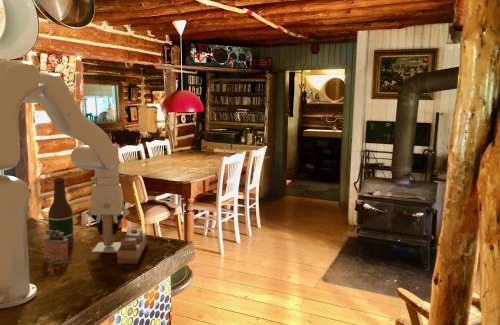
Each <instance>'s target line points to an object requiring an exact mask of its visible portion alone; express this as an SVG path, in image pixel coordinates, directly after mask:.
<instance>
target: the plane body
mask: <svg viewBox="0 0 500 325" xmlns="http://www.w3.org/2000/svg"><path fill="white" fill-rule="evenodd" d="M120 242H121V246H120V248H119V249H118V251H117V253H116V254H117V256H116V258H117V259H116V260H117V262H116V263H117V264H138V262H139V260H140V258H141V256H142V254H143V252H144V250H145V248H146V246H147V233H146V232H143V228H129V229H128V231H127V232H126V234H125V236H124V237H122V238H121V239H120Z"/></svg>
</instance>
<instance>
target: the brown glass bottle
mask: <svg viewBox="0 0 500 325" xmlns="http://www.w3.org/2000/svg"><path fill="white" fill-rule="evenodd" d="M65 181H66V179H65V178H64V177H55V178H53V180H52V182H53V183H54V184H53V201H52V203H51V205H50V207H49V210H48V213H47V214H48V220H47V222H48V230H54V231H56V230H59V231H60V232H64V237H63V238H67V239H68V242H67V243H68V250H69V249H72V248H73V247H74V219H73V218H74V215H73V208H72V206H71V204H70V203H69V202H68V200H67V195H66V187H65V186H66V185H65ZM48 236H50V235H48Z"/></svg>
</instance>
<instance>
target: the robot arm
mask: <svg viewBox="0 0 500 325" xmlns="http://www.w3.org/2000/svg"><path fill="white" fill-rule="evenodd" d="M23 103H26V104H39V105H40V106H41V107H42V108H43V110H44V112H45V113H46V115H47V117H48V118H49V120H50V122H51V123H52V125H53V126H54V128H55V129H56V130H57V131H58V132H60V133H62V134H63V135H65V136H68V137H71V138H73V139H75V140H77V141H79V142H81V143H83V144H82V145H78V146H76V147H75V148H74V149H72V151H71V153H70V161H71V163H72V164H73V165H74V166H75V167H76V168H79V169H83V170H84V169H85V170H94V176H92V177H90V181H91V182H93V183H94V184H93V185H92V187H91V195H90V206H89V207H88V210H87V211H86V215H87V216H89V217H91V219H93V220H94V222H95V223H96V224H97V233H98V235H99V236H100V235H103V234H102V222H103V215H113V219H114V223H113V234H114V236H115V235H117V233H118V232H119V227H120V226H119V222H120V221H121V220H122V219H123V218H124V217H126V216H128V215H129V214H130V211H129V210H128V208H127V207H126V206H125V203H124V195H123V194H124V193H123V188H122V185H121V183H120V177H119V176H120V174H119V173H120V172H119V171H120V170H119V167H120V164H119V147H118V146H117V144H114V143H113V142H112V139H110V137H109V135H108V134H107V133H106V132H105V131H104V130H103V129H102V128H101V127H100V126H98V125H97V124H96V123H94V122H93V121H92V120H91V119H89V118H88V117H86V116H85V115H84V114H83V112H82V110H81V108H80V107H79V104H78V103H77V101H76V99H75V98H74V95H73V94H72V92H71V90H70V88H69V87H68V85H67V83H66V82H65V80H64V79H63V77H62V76H60V75H59V74H56V73H54V72H41V71H40V69H39V68H38V66H36V64H34V63H33V62H30V61H26V60H18V59H17V60H16V59H15V60H12V59H9V60H8V59H7V60H0V171H6V170H11V169H13V168H15V167H16V166H17V165H18V164H19V162H20V158H21V145H20V144H21V143H20V129H19V128H20V127H19V124H20V123H19V114H20V109H21V107H22V105H23ZM30 196H31V195H30V189H29V186H28V185H27V183H26V182H25V181H24V180H22V179H21V178H18V177H16V176H12V175H8V174H7V175H6V174H0V309H7V308H13V307H16V306H20V305H23V304H25V303H27V302H29V301H30V300H32V299H33V298H35V296H36V295H37V294H38V288H37V286H36V285H35V284H33V283H31V282H30V281H31V280H30V279H31V278H30V263H29V262H30V260H29V245H28V243H29V242H28V227H27V226H28V224H27V222H28V220H27V219H28V208H29V205H30ZM104 204H110V206H111V207H110V208H108V209H106V208H104V207H103V205H104Z"/></svg>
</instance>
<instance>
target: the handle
mask: <svg viewBox="0 0 500 325" xmlns="http://www.w3.org/2000/svg"><path fill="white" fill-rule="evenodd" d="M103 207H104V208H106V209H108V208H110V207H111V206H110V204H104V205H103ZM102 221H103V222H102V234H101V235H102V242H103V244H104V246H112V245H113V243H114V242H115V241H114V240H115V235H114V234H113V223H114V218H113V215H103V216H102Z"/></svg>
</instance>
